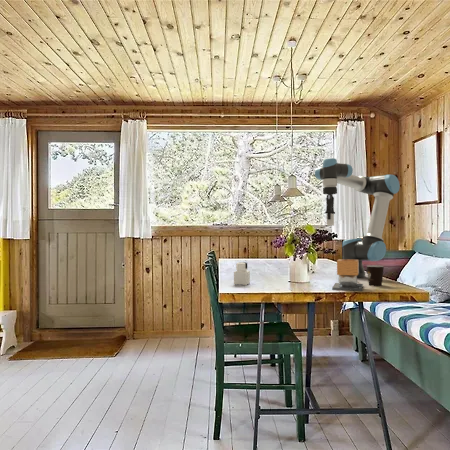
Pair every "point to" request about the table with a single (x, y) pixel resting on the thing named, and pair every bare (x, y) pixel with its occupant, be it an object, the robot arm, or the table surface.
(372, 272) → the coffee mug
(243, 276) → the medicine bottle
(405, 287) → the table surface
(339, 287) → the piston stand
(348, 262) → the orange brown box
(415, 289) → the table surface
